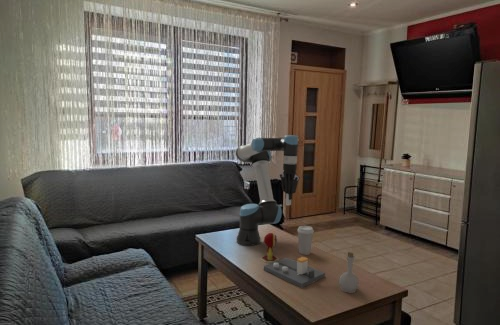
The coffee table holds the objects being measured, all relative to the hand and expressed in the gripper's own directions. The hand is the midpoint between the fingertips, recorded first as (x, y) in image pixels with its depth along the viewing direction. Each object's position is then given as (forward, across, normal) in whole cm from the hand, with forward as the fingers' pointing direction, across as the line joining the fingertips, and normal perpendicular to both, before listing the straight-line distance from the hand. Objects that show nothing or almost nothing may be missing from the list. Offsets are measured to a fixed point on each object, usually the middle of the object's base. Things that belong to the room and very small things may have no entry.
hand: (288, 204), depth 195 cm
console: (+29, +18, -15) cm, 38 cm away
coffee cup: (+30, +4, +11) cm, 32 cm away
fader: (+27, +23, -15) cm, 39 cm away
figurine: (+30, -2, -12) cm, 32 cm away
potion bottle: (+30, +45, -8) cm, 55 cm away
